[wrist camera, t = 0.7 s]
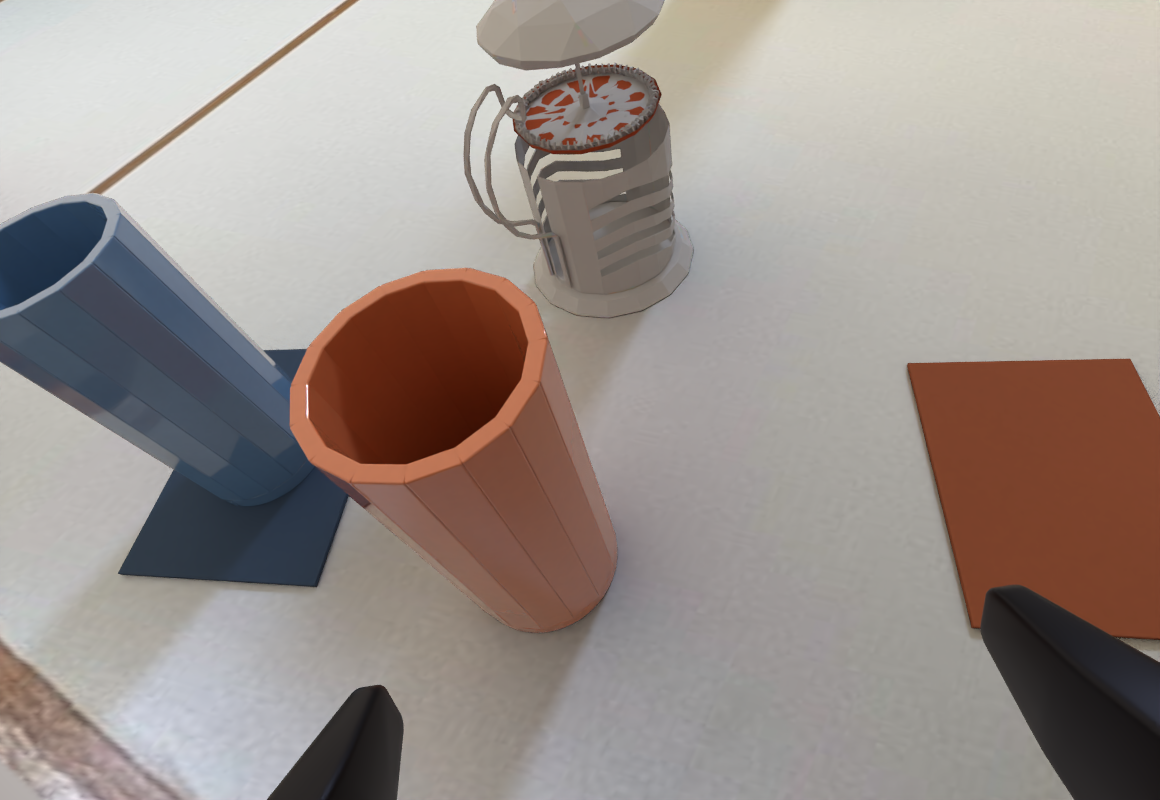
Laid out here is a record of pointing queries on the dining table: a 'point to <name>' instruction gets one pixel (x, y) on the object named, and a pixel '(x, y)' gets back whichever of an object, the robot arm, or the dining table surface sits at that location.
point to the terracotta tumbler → (461, 442)
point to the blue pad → (240, 528)
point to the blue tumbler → (143, 349)
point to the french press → (580, 125)
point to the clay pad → (1049, 483)
